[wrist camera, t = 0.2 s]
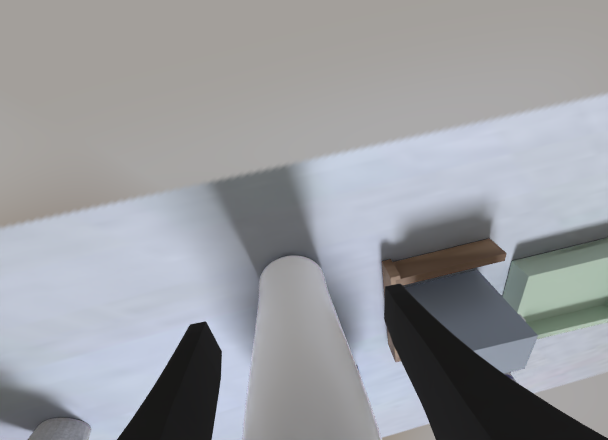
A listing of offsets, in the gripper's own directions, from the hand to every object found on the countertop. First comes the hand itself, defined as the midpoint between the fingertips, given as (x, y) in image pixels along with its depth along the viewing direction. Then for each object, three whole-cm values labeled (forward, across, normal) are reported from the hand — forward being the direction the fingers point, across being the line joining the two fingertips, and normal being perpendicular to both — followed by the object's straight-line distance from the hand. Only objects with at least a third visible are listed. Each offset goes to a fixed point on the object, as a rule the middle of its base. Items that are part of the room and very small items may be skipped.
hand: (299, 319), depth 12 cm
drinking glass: (+10, +1, +7) cm, 13 cm away
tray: (+10, -26, +15) cm, 32 cm away
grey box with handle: (+10, -13, +13) cm, 21 cm away
